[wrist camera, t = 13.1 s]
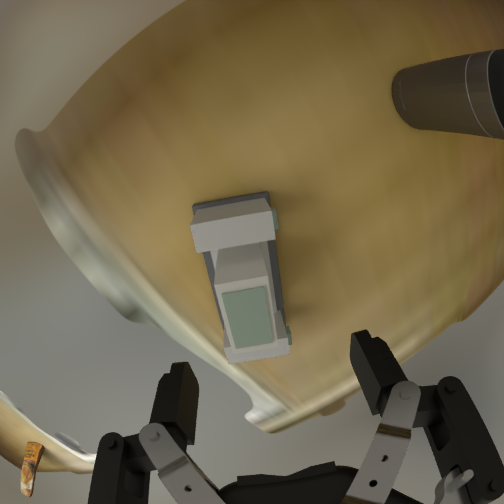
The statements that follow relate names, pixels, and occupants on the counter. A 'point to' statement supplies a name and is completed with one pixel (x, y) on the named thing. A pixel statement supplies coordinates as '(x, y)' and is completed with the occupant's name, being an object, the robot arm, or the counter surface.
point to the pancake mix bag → (30, 467)
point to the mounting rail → (235, 234)
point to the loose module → (245, 298)
